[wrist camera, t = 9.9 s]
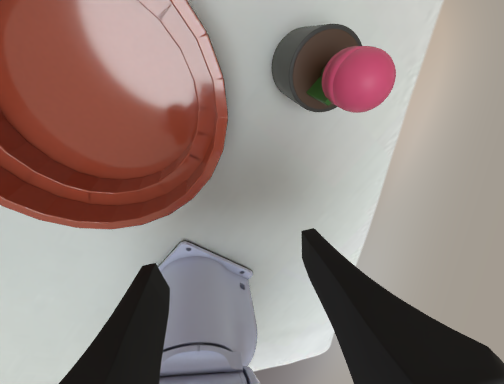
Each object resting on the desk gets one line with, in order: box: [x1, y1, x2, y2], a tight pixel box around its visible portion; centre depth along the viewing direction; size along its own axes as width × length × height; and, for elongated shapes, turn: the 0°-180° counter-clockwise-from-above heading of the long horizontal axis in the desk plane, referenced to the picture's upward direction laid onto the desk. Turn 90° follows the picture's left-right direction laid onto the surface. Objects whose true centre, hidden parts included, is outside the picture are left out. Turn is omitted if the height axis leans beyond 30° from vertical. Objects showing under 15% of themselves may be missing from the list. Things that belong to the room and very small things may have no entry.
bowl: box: [0, 0, 228, 229], centre depth 14 cm, size 15×15×4 cm
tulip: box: [272, 24, 396, 112], centre depth 13 cm, size 4×4×9 cm
